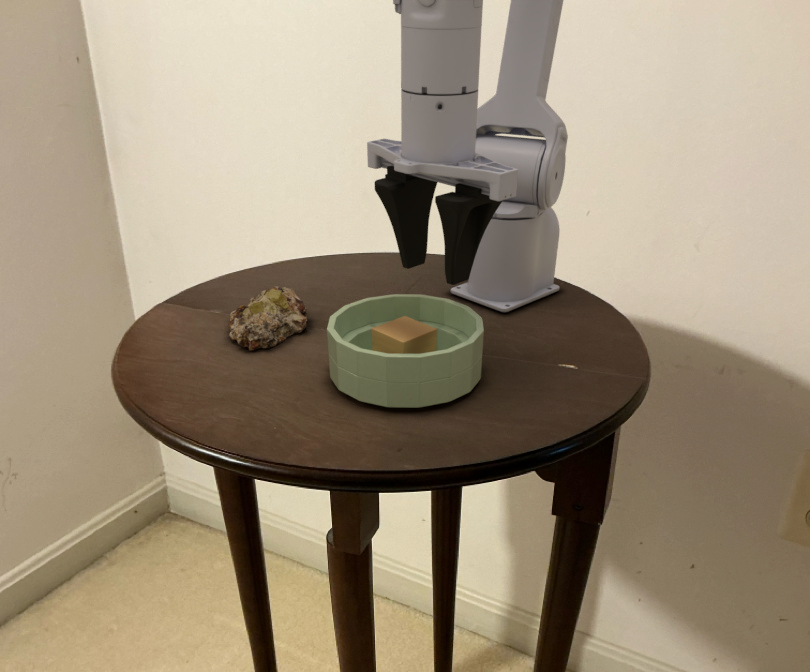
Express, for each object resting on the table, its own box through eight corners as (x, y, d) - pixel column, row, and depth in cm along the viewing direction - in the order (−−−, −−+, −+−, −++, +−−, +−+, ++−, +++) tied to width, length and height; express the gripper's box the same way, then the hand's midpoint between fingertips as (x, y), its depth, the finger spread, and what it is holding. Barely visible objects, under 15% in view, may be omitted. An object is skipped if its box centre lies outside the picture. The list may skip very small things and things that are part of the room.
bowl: (407, 333, 76) (407, 283, 73) (510, 377, 68) (515, 323, 65) (301, 375, 69) (296, 321, 66) (402, 429, 61) (402, 372, 58)
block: (405, 357, 70) (405, 315, 68) (436, 371, 68) (437, 328, 66) (372, 370, 68) (371, 328, 66) (403, 386, 66) (403, 342, 64)
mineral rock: (239, 284, 80) (309, 268, 77) (255, 323, 82) (323, 309, 80) (198, 328, 72) (274, 312, 69) (217, 370, 74) (291, 356, 72)
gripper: (335, 84, 59) (344, 263, 67) (476, 109, 50) (465, 309, 59) (402, 74, 62) (402, 245, 71) (543, 96, 54) (524, 286, 63)
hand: (435, 273), depth 65 cm, fingers open, 5 cm apart
